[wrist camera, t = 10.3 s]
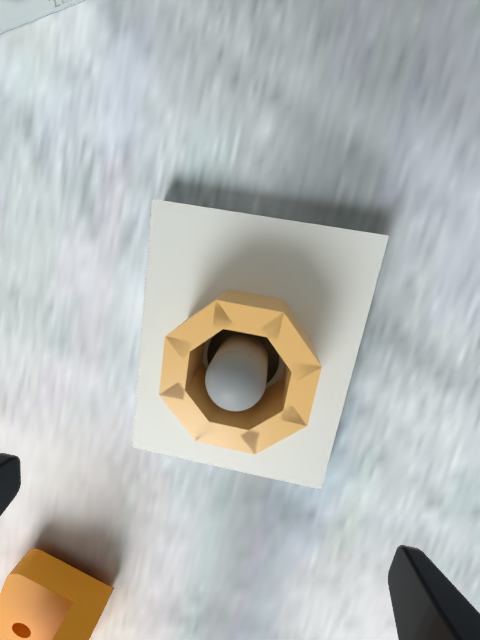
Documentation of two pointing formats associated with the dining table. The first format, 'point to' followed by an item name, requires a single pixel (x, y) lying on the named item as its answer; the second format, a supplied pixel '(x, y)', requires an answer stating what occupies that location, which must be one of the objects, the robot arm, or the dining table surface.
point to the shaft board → (263, 270)
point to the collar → (277, 400)
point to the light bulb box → (28, 11)
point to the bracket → (50, 600)
